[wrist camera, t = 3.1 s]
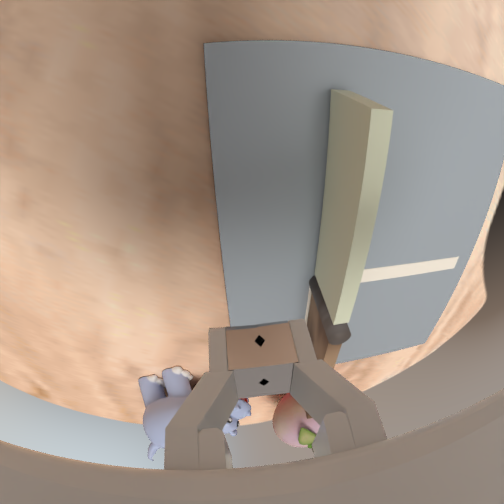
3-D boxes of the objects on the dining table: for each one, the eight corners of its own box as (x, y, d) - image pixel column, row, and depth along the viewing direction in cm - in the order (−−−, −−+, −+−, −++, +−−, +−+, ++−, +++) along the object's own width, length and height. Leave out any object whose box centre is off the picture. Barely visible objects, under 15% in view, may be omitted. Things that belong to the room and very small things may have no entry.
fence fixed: (309, 274, 26) (331, 336, 21) (329, 272, 26) (355, 332, 21) (295, 371, 36) (306, 419, 31) (309, 369, 36) (321, 416, 31)
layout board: (203, 43, 15) (203, 43, 14) (513, 89, 16) (517, 91, 16) (237, 374, 36) (237, 377, 35) (423, 340, 37) (424, 343, 37)
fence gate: (327, 272, 26) (348, 322, 21) (314, 273, 26) (333, 324, 21) (348, 90, 17) (393, 110, 12) (331, 89, 16) (371, 108, 12)
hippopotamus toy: (262, 385, 38) (272, 451, 31) (174, 410, 42) (174, 468, 34) (217, 349, 32) (223, 431, 25) (122, 381, 35) (115, 448, 28)
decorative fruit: (254, 388, 38) (264, 457, 31) (309, 364, 36) (327, 437, 28) (288, 405, 44) (299, 463, 36) (336, 385, 41) (353, 446, 34)
